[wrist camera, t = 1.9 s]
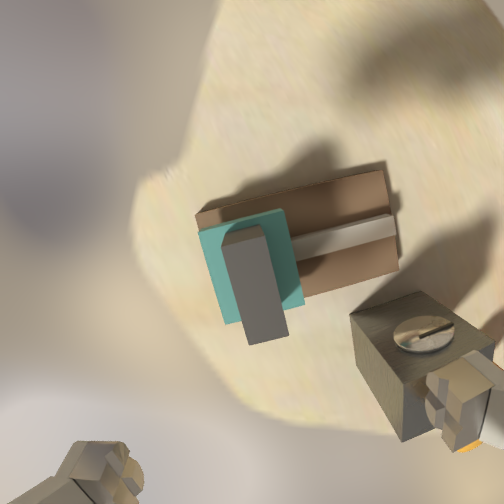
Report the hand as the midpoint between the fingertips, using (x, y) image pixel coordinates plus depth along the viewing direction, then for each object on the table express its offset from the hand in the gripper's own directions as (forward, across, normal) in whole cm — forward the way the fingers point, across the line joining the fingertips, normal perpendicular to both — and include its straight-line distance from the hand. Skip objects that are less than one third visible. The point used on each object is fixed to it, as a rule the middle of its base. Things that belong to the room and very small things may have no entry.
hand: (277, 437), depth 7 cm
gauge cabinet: (+21, -12, +11) cm, 27 cm away
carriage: (+19, 0, 0) cm, 19 cm away
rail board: (+21, -4, 0) cm, 22 cm away
